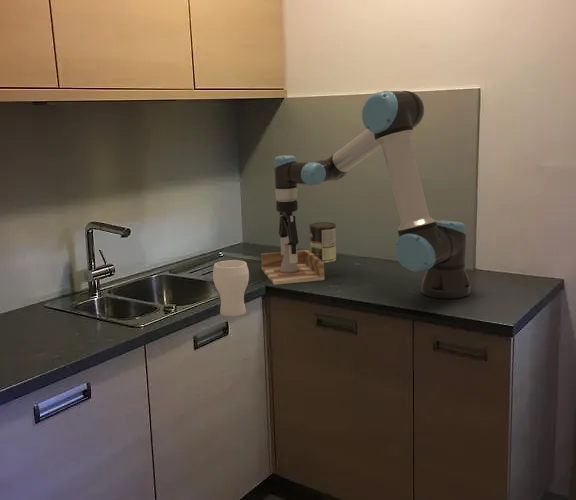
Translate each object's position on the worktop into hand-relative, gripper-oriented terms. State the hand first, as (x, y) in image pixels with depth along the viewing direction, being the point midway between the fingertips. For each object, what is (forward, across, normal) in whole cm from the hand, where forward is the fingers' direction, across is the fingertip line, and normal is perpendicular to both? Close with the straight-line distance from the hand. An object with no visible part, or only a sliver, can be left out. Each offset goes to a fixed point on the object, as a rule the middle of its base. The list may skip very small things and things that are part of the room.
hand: (289, 258), depth 238 cm
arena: (+6, 0, -1) cm, 6 cm away
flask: (+5, 0, 0) cm, 5 cm away
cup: (+6, -37, +26) cm, 46 cm away
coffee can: (+6, +18, -18) cm, 26 cm away
